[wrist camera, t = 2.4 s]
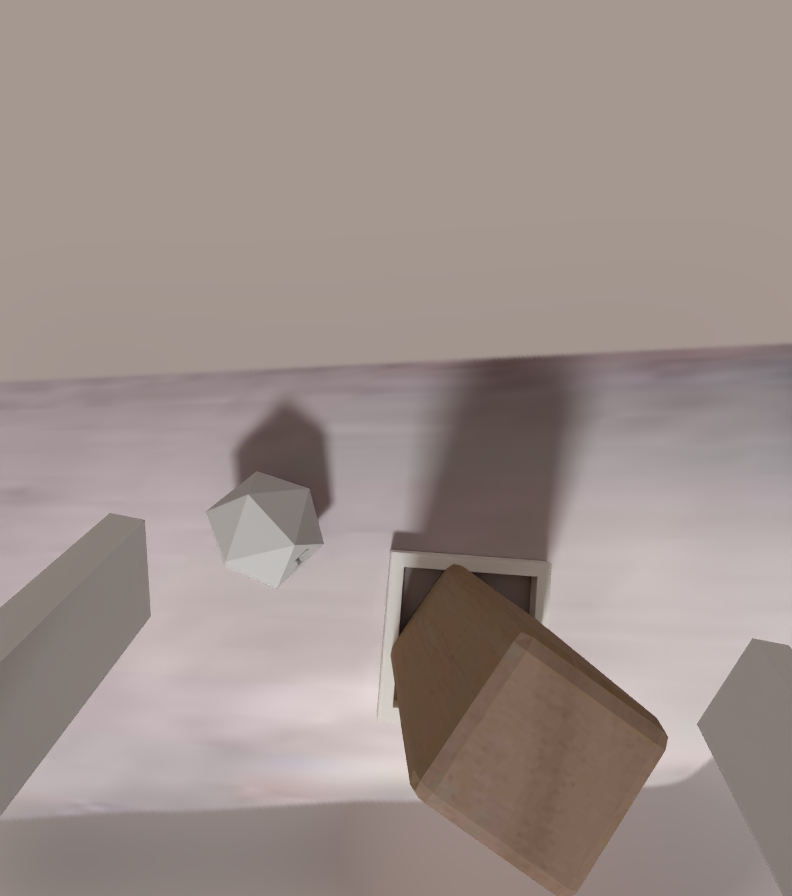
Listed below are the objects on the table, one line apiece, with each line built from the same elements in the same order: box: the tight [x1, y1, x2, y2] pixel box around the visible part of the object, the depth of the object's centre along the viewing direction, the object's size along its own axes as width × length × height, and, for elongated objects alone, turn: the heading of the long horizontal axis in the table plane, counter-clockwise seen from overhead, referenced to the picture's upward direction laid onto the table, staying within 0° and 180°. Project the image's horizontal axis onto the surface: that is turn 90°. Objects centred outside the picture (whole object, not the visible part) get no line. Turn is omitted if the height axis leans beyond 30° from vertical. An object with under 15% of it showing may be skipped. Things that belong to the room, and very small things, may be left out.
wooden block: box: [390, 564, 668, 896], centre depth 34 cm, size 10×10×20 cm
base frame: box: [377, 549, 552, 723], centre depth 43 cm, size 14×14×2 cm
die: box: [206, 471, 324, 589], centre depth 40 cm, size 8×9×10 cm
